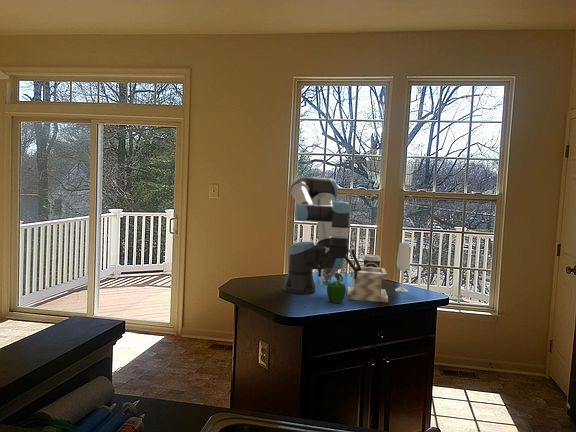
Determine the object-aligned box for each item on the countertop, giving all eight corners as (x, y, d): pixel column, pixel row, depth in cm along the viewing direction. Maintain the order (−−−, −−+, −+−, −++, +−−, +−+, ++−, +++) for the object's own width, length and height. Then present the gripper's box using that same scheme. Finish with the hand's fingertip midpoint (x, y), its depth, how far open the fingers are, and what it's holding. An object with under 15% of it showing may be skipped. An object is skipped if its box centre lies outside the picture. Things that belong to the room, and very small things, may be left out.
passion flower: (325, 292, 245) (315, 272, 248) (340, 286, 251) (330, 267, 255) (336, 284, 236) (326, 263, 240) (351, 278, 243) (341, 258, 246)
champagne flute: (393, 288, 236) (395, 242, 234) (405, 289, 236) (408, 242, 235) (397, 291, 229) (400, 243, 227) (410, 292, 229) (413, 244, 228)
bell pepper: (329, 304, 197) (330, 281, 197) (324, 299, 205) (325, 277, 205) (347, 304, 199) (349, 281, 198) (342, 299, 207) (343, 277, 206)
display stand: (347, 299, 208) (348, 271, 208) (347, 290, 226) (349, 265, 225) (387, 302, 206) (389, 274, 205) (384, 293, 224) (386, 268, 223)
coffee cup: (383, 284, 245) (385, 256, 244) (370, 286, 240) (372, 257, 239) (370, 281, 253) (372, 253, 252) (357, 282, 248) (359, 254, 247)
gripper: (310, 236, 198) (307, 285, 199) (368, 239, 195) (366, 289, 196) (311, 234, 206) (309, 281, 207) (368, 238, 202) (365, 285, 203)
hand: (336, 285), depth 201 cm, fingers open, 13 cm apart
